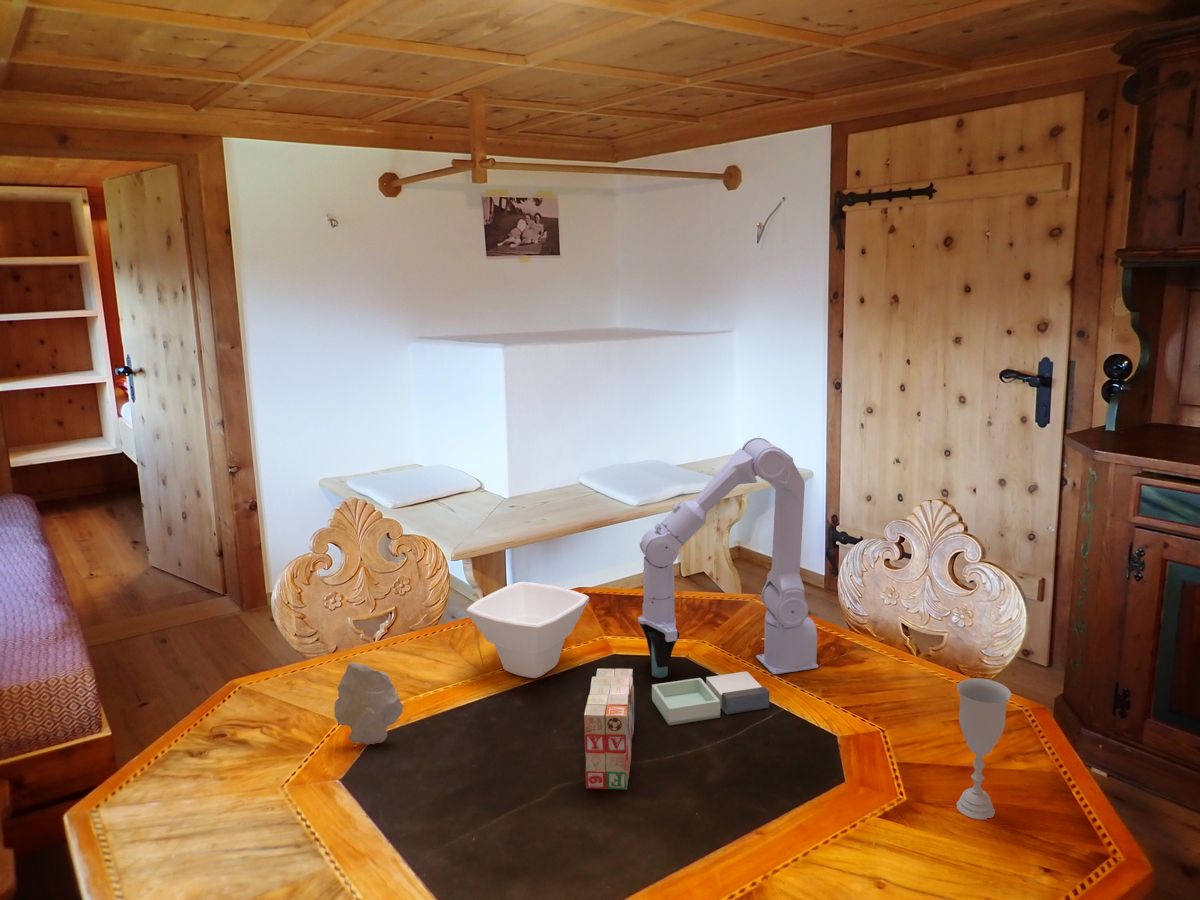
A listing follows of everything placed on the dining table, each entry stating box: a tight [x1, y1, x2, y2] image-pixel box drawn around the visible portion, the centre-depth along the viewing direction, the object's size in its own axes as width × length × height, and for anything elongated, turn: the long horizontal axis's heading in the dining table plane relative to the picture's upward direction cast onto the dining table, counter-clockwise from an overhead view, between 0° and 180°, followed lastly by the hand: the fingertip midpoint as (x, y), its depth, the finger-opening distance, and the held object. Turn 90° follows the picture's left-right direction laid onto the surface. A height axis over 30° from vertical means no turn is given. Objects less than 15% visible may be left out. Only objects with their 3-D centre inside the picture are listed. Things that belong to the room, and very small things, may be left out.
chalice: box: [956, 677, 1012, 820], centre depth 123 cm, size 7×7×18 cm
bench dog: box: [721, 686, 771, 715], centre depth 154 cm, size 8×2×3 cm, turn 105°
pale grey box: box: [705, 671, 763, 710], centre depth 159 cm, size 8×7×3 cm
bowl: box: [465, 581, 590, 679], centre depth 170 cm, size 19×19×14 cm
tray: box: [651, 677, 721, 726], centre depth 155 cm, size 9×9×3 cm
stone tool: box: [333, 661, 404, 746], centre depth 144 cm, size 11×4×15 cm, turn 95°
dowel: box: [651, 642, 669, 679], centre depth 167 cm, size 3×3×8 cm
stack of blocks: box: [583, 668, 635, 790], centre depth 141 cm, size 21×6×12 cm, turn 175°
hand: (659, 662), depth 168 cm, fingers closed on dowel, 3 cm apart
